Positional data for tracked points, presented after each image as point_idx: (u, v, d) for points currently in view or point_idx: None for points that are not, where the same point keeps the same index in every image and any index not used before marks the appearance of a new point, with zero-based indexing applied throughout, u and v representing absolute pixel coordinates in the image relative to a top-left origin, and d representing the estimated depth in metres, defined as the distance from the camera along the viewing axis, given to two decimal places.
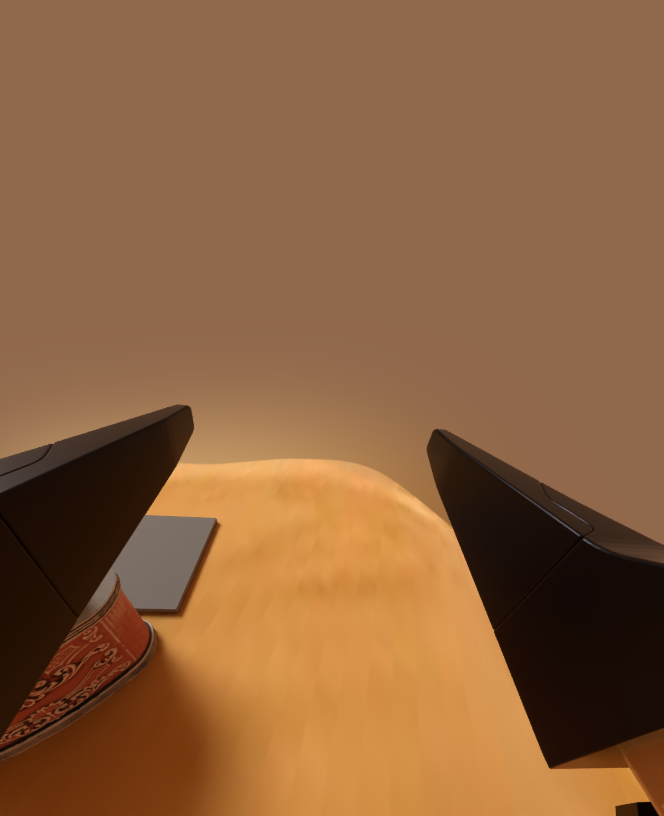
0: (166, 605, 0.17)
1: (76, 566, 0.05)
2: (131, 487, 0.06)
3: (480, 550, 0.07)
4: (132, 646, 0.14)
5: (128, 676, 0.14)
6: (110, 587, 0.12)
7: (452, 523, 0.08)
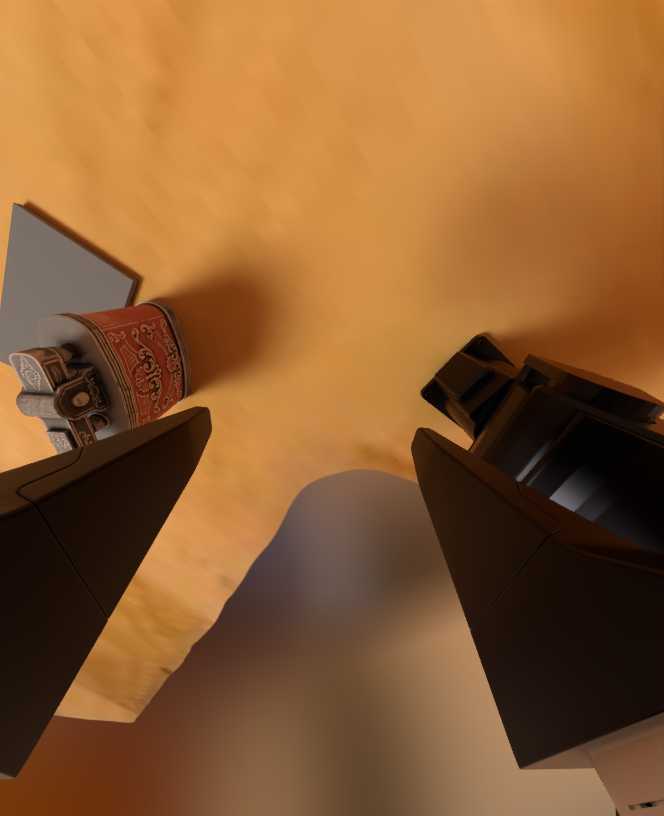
0: (126, 288, 0.17)
1: (108, 567, 0.05)
2: (157, 489, 0.06)
3: (458, 549, 0.07)
4: (148, 315, 0.16)
5: (174, 321, 0.18)
6: (65, 319, 0.12)
7: (433, 522, 0.08)
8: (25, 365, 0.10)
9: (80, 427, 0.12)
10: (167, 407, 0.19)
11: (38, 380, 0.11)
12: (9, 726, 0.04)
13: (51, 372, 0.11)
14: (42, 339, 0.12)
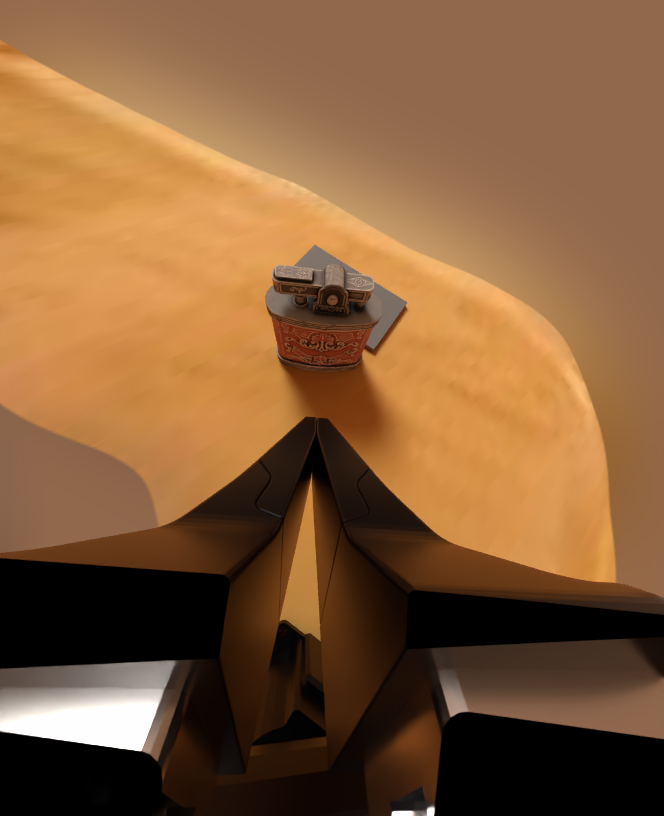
0: (368, 343, 0.24)
1: (285, 575, 0.06)
2: (303, 499, 0.07)
3: (318, 541, 0.06)
4: (359, 354, 0.22)
5: (348, 368, 0.23)
6: (380, 312, 0.17)
7: None
8: (365, 282, 0.15)
9: (309, 290, 0.15)
10: (283, 345, 0.20)
11: (354, 284, 0.15)
12: (252, 725, 0.04)
13: (358, 293, 0.15)
14: None
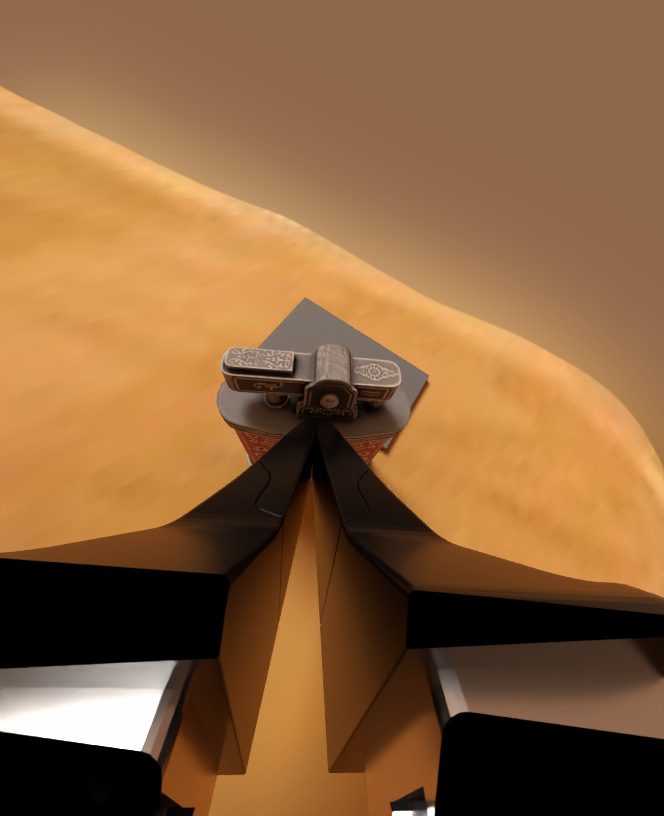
0: None
1: (285, 575, 0.06)
2: (303, 499, 0.07)
3: (318, 541, 0.06)
4: (369, 461, 0.14)
5: None
6: (406, 412, 0.11)
7: None
8: (386, 372, 0.09)
9: (289, 386, 0.08)
10: (253, 455, 0.13)
11: (368, 376, 0.09)
12: (252, 725, 0.04)
13: (374, 390, 0.09)
14: None
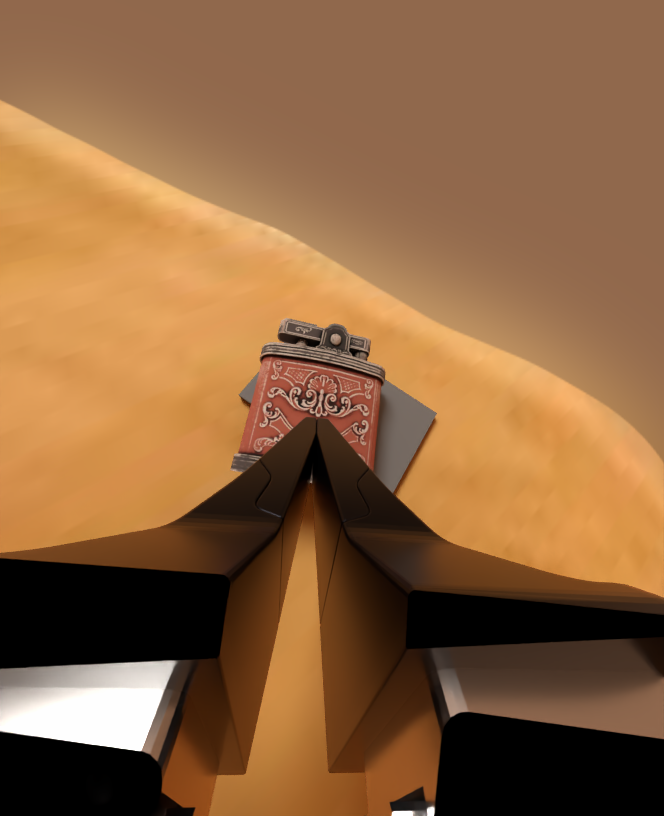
0: None
1: (285, 575, 0.06)
2: (303, 499, 0.07)
3: (318, 541, 0.06)
4: (372, 445, 0.14)
5: None
6: None
7: None
8: None
9: (314, 331, 0.16)
10: (259, 412, 0.13)
11: None
12: (252, 725, 0.04)
13: (358, 340, 0.16)
14: None
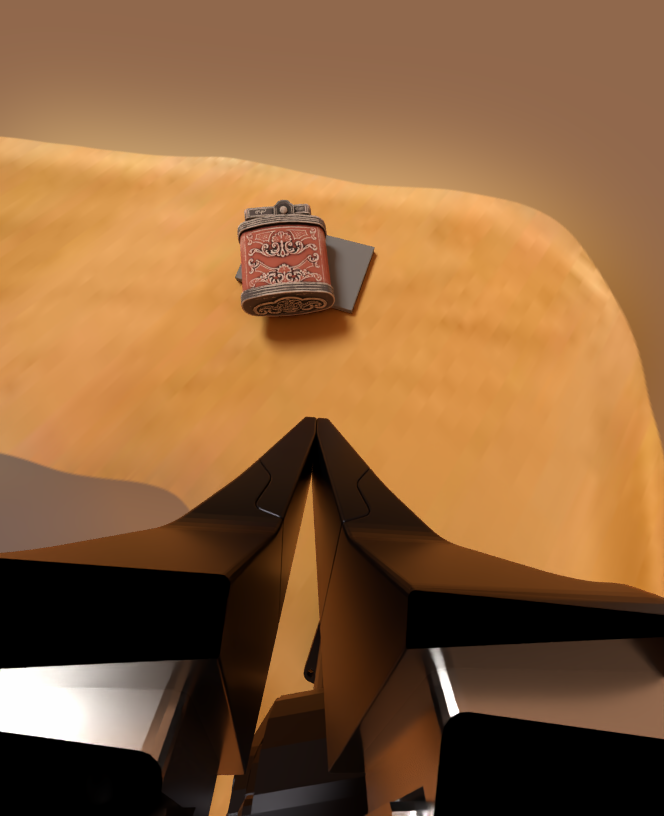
0: (344, 306, 0.23)
1: (285, 575, 0.06)
2: (302, 499, 0.07)
3: (318, 541, 0.06)
4: (324, 267, 0.21)
5: (318, 286, 0.20)
6: None
7: None
8: None
9: (268, 210, 0.23)
10: (247, 266, 0.21)
11: None
12: (252, 726, 0.04)
13: (300, 207, 0.23)
14: None
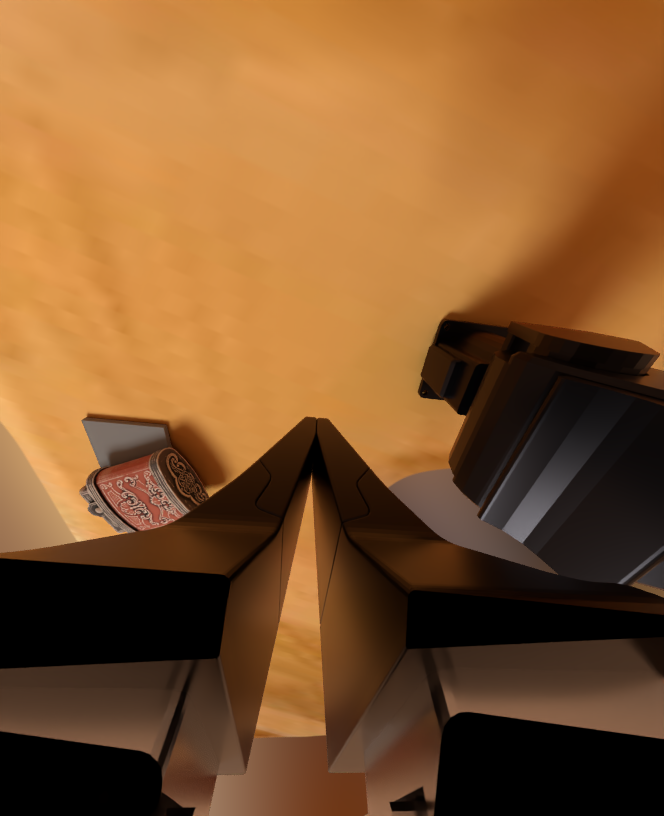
0: (162, 434, 0.23)
1: (285, 575, 0.06)
2: (303, 499, 0.07)
3: (318, 541, 0.06)
4: (134, 469, 0.22)
5: (155, 472, 0.21)
6: None
7: None
8: None
9: (108, 519, 0.25)
10: None
11: None
12: (252, 725, 0.04)
13: (86, 497, 0.23)
14: None
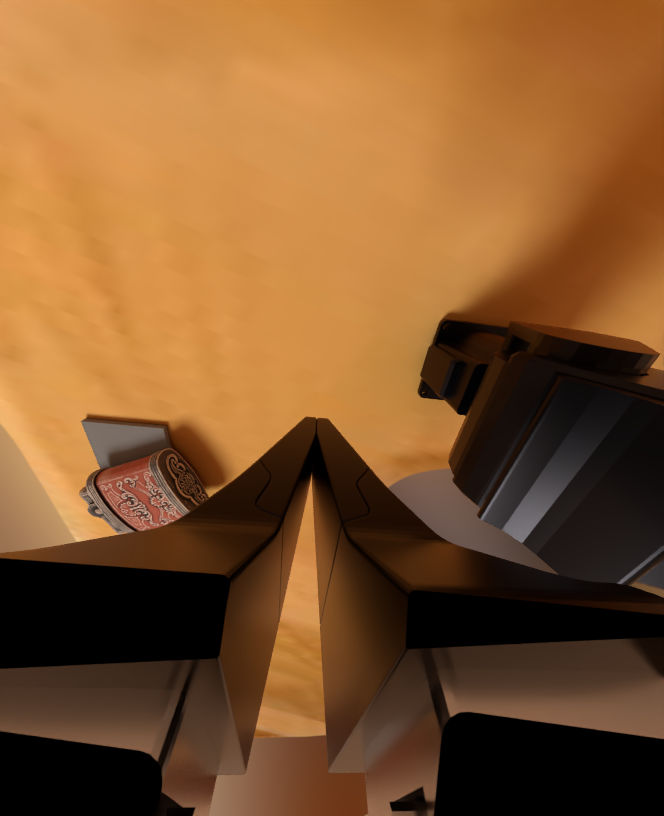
0: (162, 435, 0.23)
1: (285, 575, 0.06)
2: (302, 499, 0.07)
3: (318, 541, 0.06)
4: (134, 470, 0.22)
5: (155, 473, 0.21)
6: None
7: None
8: None
9: (108, 520, 0.25)
10: None
11: None
12: (252, 725, 0.04)
13: (86, 498, 0.23)
14: None
